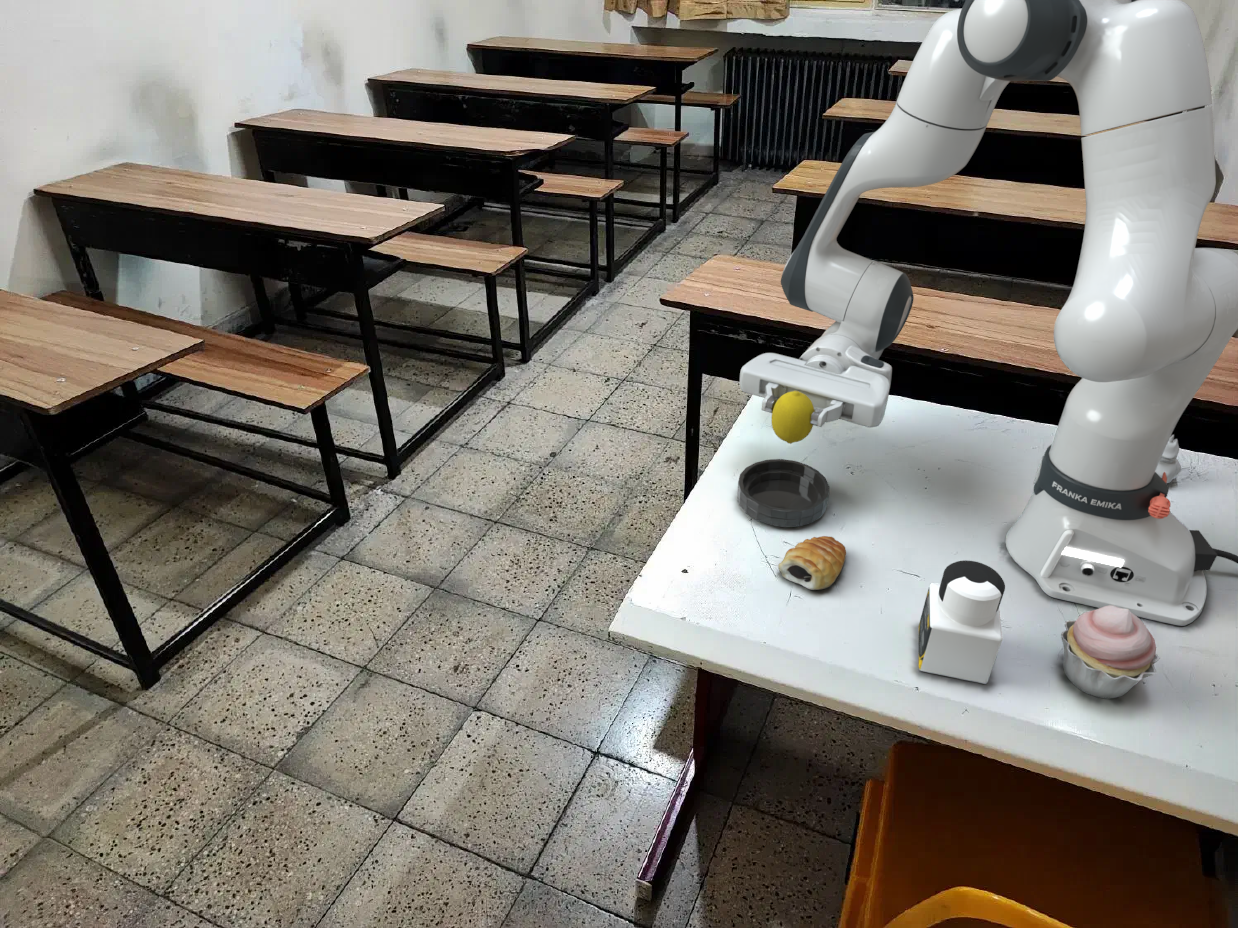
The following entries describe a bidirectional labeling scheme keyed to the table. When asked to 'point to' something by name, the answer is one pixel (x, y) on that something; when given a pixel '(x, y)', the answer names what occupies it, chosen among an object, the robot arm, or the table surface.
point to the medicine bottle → (962, 623)
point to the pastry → (814, 562)
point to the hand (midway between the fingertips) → (791, 414)
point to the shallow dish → (783, 492)
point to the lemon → (792, 417)
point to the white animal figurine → (1169, 461)
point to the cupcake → (1108, 651)
